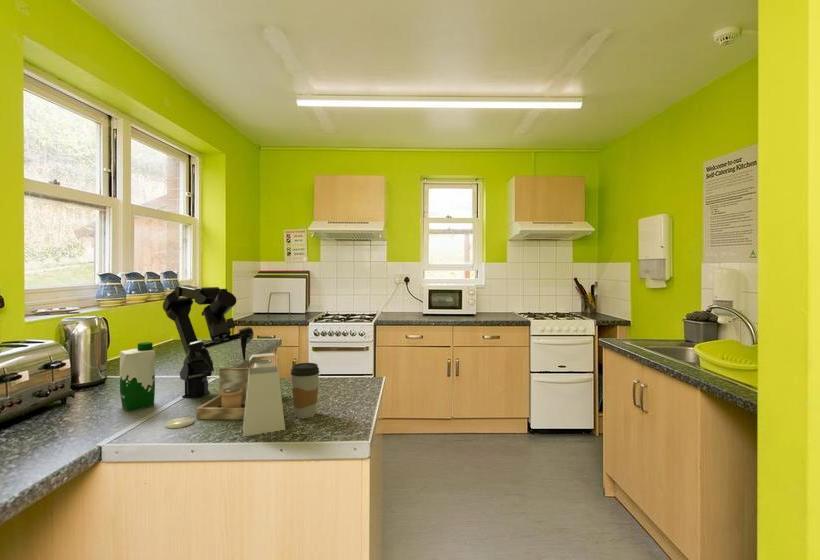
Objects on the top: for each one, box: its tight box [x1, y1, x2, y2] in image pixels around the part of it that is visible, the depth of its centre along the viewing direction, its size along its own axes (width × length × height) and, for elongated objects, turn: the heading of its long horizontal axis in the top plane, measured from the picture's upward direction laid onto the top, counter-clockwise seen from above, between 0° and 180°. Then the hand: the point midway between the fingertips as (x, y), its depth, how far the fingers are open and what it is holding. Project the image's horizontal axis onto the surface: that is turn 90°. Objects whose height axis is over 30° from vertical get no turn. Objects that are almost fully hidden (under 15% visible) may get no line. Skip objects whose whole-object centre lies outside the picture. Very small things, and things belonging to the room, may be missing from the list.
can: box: [253, 359, 274, 368], centre depth 137 cm, size 6×6×12 cm
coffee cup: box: [290, 362, 320, 420], centre depth 118 cm, size 8×8×15 cm
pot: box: [219, 387, 243, 408], centre depth 120 cm, size 6×6×7 cm
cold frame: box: [196, 367, 251, 420], centre depth 122 cm, size 16×14×12 cm
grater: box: [242, 352, 286, 437], centre depth 110 cm, size 10×10×20 cm
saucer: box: [164, 416, 195, 429], centre depth 112 cm, size 7×7×1 cm
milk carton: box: [119, 341, 156, 412], centre depth 126 cm, size 9×9×20 cm
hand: (229, 365), depth 124 cm, fingers open, 9 cm apart
